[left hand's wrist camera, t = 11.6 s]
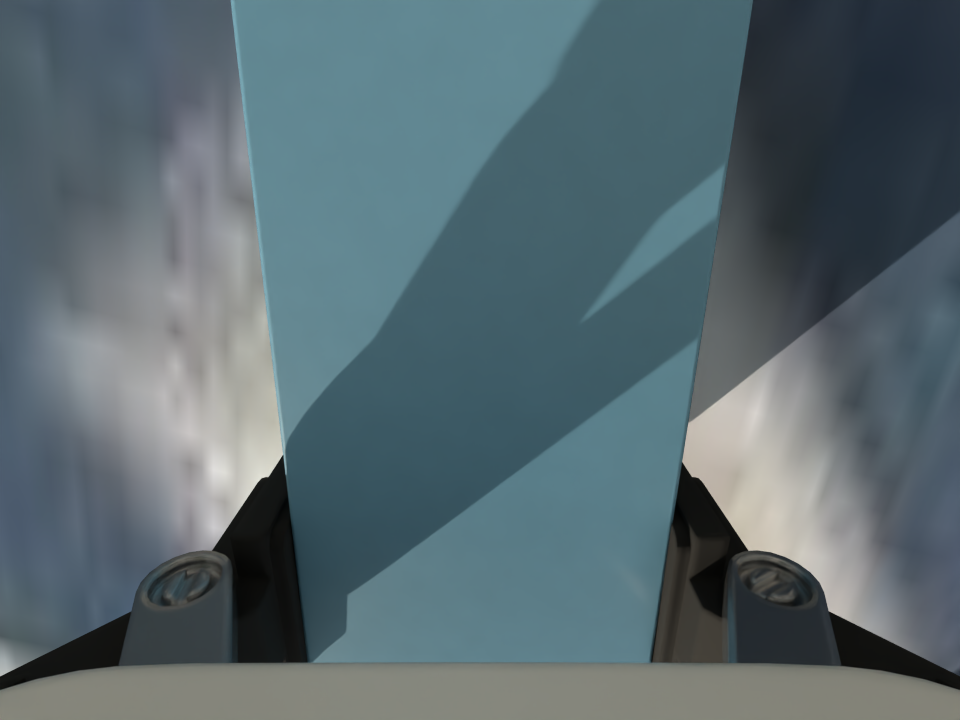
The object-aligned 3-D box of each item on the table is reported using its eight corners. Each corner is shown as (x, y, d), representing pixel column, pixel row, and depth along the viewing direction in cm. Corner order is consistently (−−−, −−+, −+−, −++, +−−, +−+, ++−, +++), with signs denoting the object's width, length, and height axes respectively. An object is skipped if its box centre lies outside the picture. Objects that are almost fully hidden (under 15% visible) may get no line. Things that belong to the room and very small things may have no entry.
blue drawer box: (356, -84, 12) (171, -475, 5) (619, -80, 12) (828, -460, 5) (386, 526, 18) (318, 778, 10) (569, 528, 18) (634, 781, 10)
